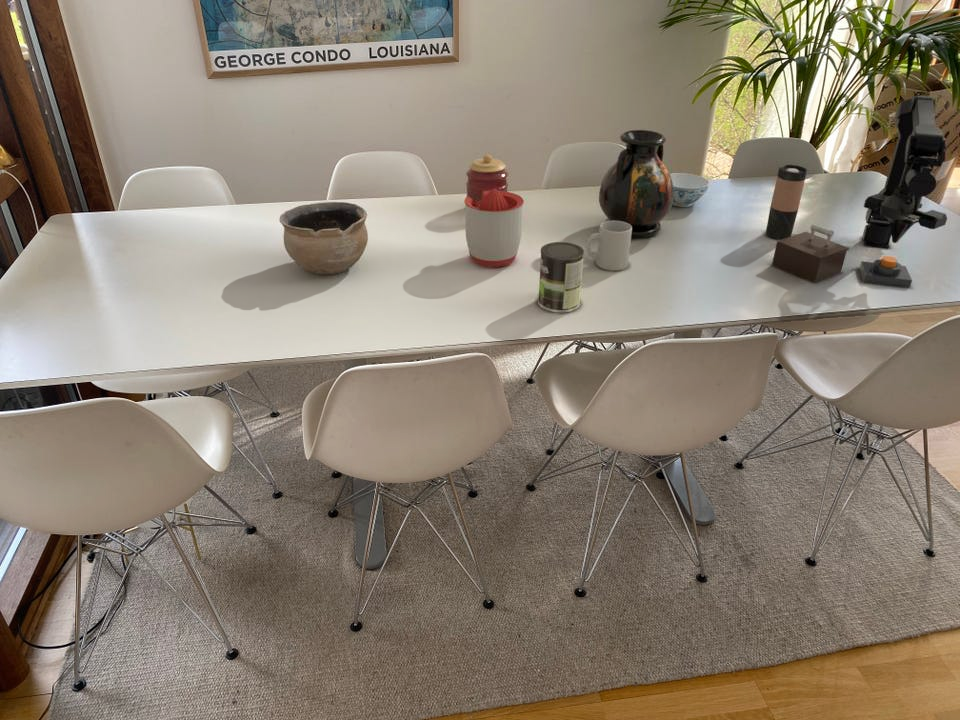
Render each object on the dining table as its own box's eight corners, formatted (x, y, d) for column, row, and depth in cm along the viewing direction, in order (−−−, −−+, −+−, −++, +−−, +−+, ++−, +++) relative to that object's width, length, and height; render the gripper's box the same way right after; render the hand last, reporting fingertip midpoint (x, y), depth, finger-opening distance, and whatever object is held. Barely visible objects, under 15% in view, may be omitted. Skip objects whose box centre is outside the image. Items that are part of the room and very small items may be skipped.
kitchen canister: (514, 207, 245) (516, 152, 236) (493, 220, 236) (494, 163, 227) (480, 199, 251) (480, 145, 242) (458, 211, 242) (457, 156, 233)
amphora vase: (637, 249, 218) (649, 151, 203) (581, 227, 232) (588, 133, 217) (683, 230, 230) (698, 136, 215) (627, 211, 244) (637, 121, 229)
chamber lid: (804, 233, 212) (809, 216, 210) (848, 250, 203) (853, 232, 200) (776, 243, 206) (780, 226, 204) (820, 260, 197) (824, 242, 194)
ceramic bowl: (299, 291, 193) (292, 235, 185) (276, 259, 210) (269, 207, 202) (382, 275, 202) (379, 220, 194) (354, 245, 219) (350, 194, 211)
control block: (903, 273, 206) (907, 259, 204) (909, 288, 198) (914, 273, 196) (859, 268, 208) (863, 255, 206) (863, 282, 201) (867, 268, 199)
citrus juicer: (488, 241, 222) (489, 173, 211) (533, 259, 211) (536, 189, 201) (448, 257, 212) (447, 186, 202) (493, 276, 202) (494, 203, 191)
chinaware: (710, 212, 244) (714, 188, 240) (662, 211, 244) (666, 187, 240) (699, 196, 256) (703, 173, 252) (654, 195, 256) (657, 172, 252)
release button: (893, 263, 202) (896, 257, 201) (896, 269, 199) (898, 262, 198) (879, 261, 203) (881, 255, 202) (881, 267, 200) (883, 260, 199)
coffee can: (541, 313, 184) (544, 259, 177) (535, 294, 193) (537, 242, 186) (583, 312, 185) (588, 258, 178) (575, 293, 194) (579, 241, 187)
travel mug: (793, 241, 224) (809, 173, 214) (766, 238, 225) (780, 171, 215) (789, 231, 230) (805, 165, 220) (763, 229, 232) (777, 163, 221)
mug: (620, 256, 213) (624, 219, 208) (632, 269, 206) (637, 230, 201) (579, 260, 211) (582, 222, 205) (590, 273, 204) (594, 234, 198)
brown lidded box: (797, 255, 215) (803, 234, 212) (840, 272, 206) (846, 251, 202) (771, 265, 210) (776, 243, 206) (814, 283, 200) (820, 260, 197)
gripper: (859, 178, 192) (843, 237, 201) (932, 200, 179) (912, 262, 187) (884, 171, 198) (868, 228, 206) (957, 191, 185) (936, 252, 193)
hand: (894, 242), depth 198 cm, fingers closed
